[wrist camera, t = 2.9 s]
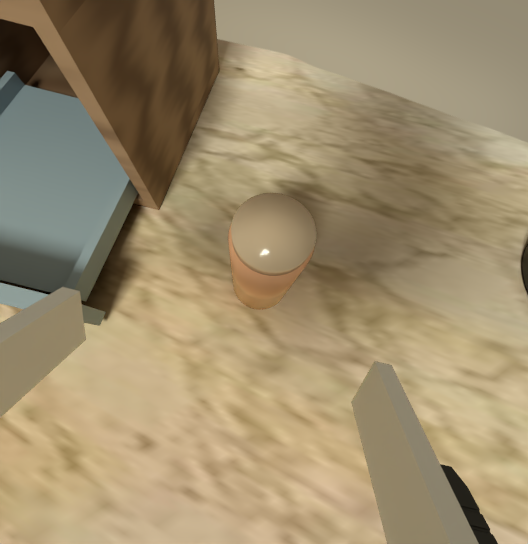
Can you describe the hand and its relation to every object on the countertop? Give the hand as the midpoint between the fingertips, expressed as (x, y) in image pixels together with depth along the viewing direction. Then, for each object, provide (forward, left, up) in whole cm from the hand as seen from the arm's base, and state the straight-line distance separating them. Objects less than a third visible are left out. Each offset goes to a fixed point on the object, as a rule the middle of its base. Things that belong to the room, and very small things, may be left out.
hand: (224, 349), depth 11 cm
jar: (+3, -6, -12) cm, 13 cm away
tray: (+23, +2, -11) cm, 26 cm away
